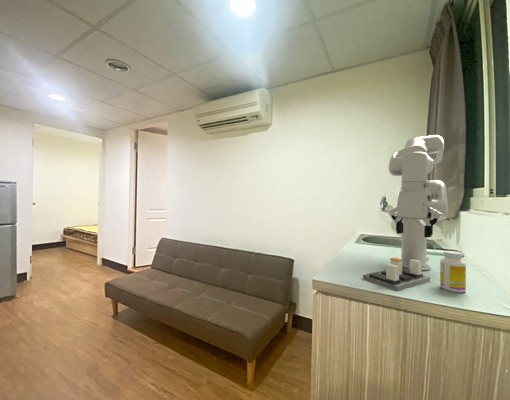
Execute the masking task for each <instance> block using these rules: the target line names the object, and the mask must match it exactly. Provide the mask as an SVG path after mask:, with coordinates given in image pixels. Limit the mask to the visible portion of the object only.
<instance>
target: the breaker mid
mask: <svg viewBox="0 0 510 400" xmlns="http://www.w3.org/2000/svg"><path fill="white" fill-rule="evenodd" d="M389 259H390V264H393V265H397V266H399V275H402V269H403V267H402V261H403V259H401V258H398V257H390V258H389Z"/></svg>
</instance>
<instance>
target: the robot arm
mask: <svg viewBox="0 0 510 400" xmlns="http://www.w3.org/2000/svg"><path fill="white" fill-rule="evenodd" d="M444 151H445V141H444V139H443V137H442V136H440V135H438V134H433V135H426V136H417V137H411V138H410V139H408V140H407V141H406V143H405V145H404V148H402V149H399V150H398V151H395V152H394V153H393V154H392V155H391V157H390V159H389V162H388V171H389V173H390V175H391V176H395V177H401V190H400V191H399V192H398V193H399V194H398V197H397V204H396V207H395V208H393V209H391V210H389V211H388V213H389V215H390V217H391V219H392V220H393V221H394V223H395V230H396V234H401V256H400V257H401V258H400V259H403V261H402V268H403V269H405V268H406V269H407V270H408V269H409V270H410V260H412V259H414V260H419V261H422V271H430V270H431V269H432V268H431V267H432V266H431V265H429V264H427V262H429V261H430V258H429V257H428V256H427V249H428V245H427V244H428V243H427V242H428V240H427V239H428V238H431V237H432V236H433V232H434V230H433V227H434V225H435V224H437V223H438V222H439V221H443V220H445V219H447V217H448V215H449V206H448V193H447V186H446V184H445V182H443V181H442V180H439V179H436V180H435V179H433V180H431V179H429V180H428V174H430V173H431V172H432V170H433V168H434V165H437V164H439V163H441V161H442V160H443V156H444ZM421 221H423V223H425V225H424V224H423V223H422V222H421Z"/></svg>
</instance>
